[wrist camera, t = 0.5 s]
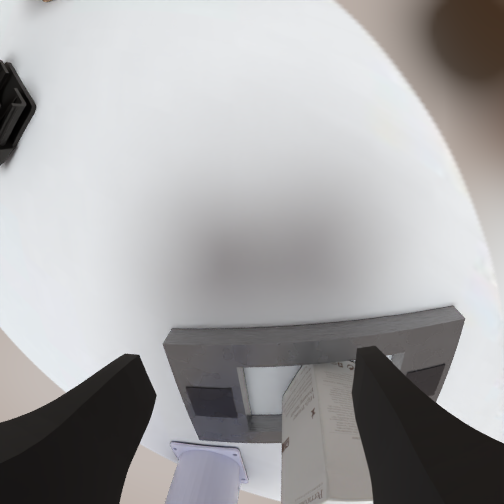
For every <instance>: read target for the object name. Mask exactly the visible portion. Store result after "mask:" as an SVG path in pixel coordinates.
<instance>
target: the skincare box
mask: <svg viewBox="0 0 504 504" xmlns="http://www.w3.org/2000/svg"><path fill="white" fill-rule="evenodd" d="M354 370H355V363H353V362H350V361H342V362H332V363H322V364H310V365H303V366H302V367H301V369H300V370H299V372H298V373H297V375H296V376H295V378H294V379H293V381H292V382H291V384H290V386H289V387H288V389H287V391H286V392H285V394H284V396H283V399H282V470H281V504H373V494H372V484H371V479H370V473H369V469H368V465H367V461H366V457H365V453H364V449H363V446H362V442H361V438H360V434H359V431H358V427H357V423H356V419H355V413H354V407H353V400H352V393H351V392H352V385H353V378H354Z"/></svg>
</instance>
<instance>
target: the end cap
mask: <svg viewBox="0 0 504 504" xmlns="http://www.w3.org/2000/svg"><path fill="white" fill-rule="evenodd" d="M35 110H36V105H35V103H34V101H33V100H32V98H31V96H30V95H29V93H28V92H27V90H26V88H25V87H24V85H23V83H22V82H21V80H20V78H19V76H18V75H17V73H16V71H15V69H14V68H13V66H12V64H11V63H8V62H6V63H5V64H4V63H3V61H1V60H0V165H1V164H2V163H3V162H4V161H5V160H6V159H7V157H8V156H9V155H10V153H11V151H12V150H13V149H14V148H15V146H16V145H17V143H18V142H19V140H20V138H21V136H22V134H23V132H24V130H25V129H26V127H27V125H28V123H29V121H30V120H31V118H32V116H33V115H34V113H35Z"/></svg>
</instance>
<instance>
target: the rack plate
mask: <svg viewBox="0 0 504 504" xmlns="http://www.w3.org/2000/svg"><path fill="white" fill-rule="evenodd" d="M464 321H465V318H464V317H463V316H462V314H461V313H460V312H459V311H458V310H457V309H456V308H455V307H454V306H450V307H444V308H439V309H433V310H427V311H421V312H415V313H408V314H401V315H394V316H387V317H380V318H372V319H363V320H354V321H345V322H335V323H324V324H311V325H298V326H282V327H262V328H233V329H171V331H170V333H169V334H168V336H167V338H166V339H165V341H164V343H163V346H164V349H165V352H166V355H167V358H168V361H169V364H170V367H171V370H172V372H173V375H174V378H175V381H176V383H177V386H178V389H179V391H180V394H181V397H182V399H183V402H184V404H185V407H186V409H187V412H188V414H189V417H190V419H191V421H192V424H193V426H194V428H195V431H196V433H197V435H198V438H199V440H206V441H218V442H235V443H282V415H251V409H250V404H249V398H248V393H247V387H246V382H245V376H244V370H243V367H276V366H295V365H310V364H322V363H332V362H342V361H350V360H356V352H357V348H363V347H369V346H376V347H377V348H378V349H379V350H380V351H381V352H382V353H383V354H384V355H385V356H386V355H392V354H393V356H392V361H391V362H392V363H393V364H394V365H395V366H396V367H397V368H398V369H399V370H400V371H401V372H402V373H403V374H404V375H405V376H406V377H407V378H409V379H410V380H411V381H412V382H413V383H414V384H415V385H416V386H417V387H418V388H419V389H420V390H422V391H423V392H424V393H425V394H426V395H427V396H428V397H430V398H431V399H432V400H433V401H435V402H436V400H437V398H438V396H439V394H440V391H441V389H442V386H443V384H444V381H445V379H446V376H447V374H448V371H449V368H450V366H451V363H452V360H453V357H454V354H455V351H456V348H457V345H458V342H459V338H460V335H461V332H462V328H463V325H464Z"/></svg>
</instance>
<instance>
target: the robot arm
mask: <svg viewBox="0 0 504 504" xmlns="http://www.w3.org/2000/svg"><path fill="white" fill-rule="evenodd" d="M351 393H352V400H353V407H354V413H355V419H356V423H357V427H358V431H359V434H360V438H361V442H362V446H363V449H364V453H365V457H366V461H367V465H368V469H369V473H370V479H371V484H372V494H373V504H504V443H502V442H499V441H497V440H495V439H493V438H491V437H489V436H487V435H485V434H483V433H481V432H479V431H477V430H475V429H474V428H472V427H470V426H469V425H467V424H465V423H464V422H462V421H461V420H459V419H458V418H456V417H455V416H453V415H452V414H450V413H449V412H447V411H446V410H445V409H443V408H442V407H441V406H439V405H438V404H437V403H436V402H435V401H433V400H432V399H431V398H430V397H428V396H427V395H426V394H425V393H424V392H423V391H422V390H420V389H419V388H418V387H417V386H416V385H415V384H414V383H413V382H412V381H411V380H410V379H409V378H407V377H406V376H405V375H404V374H403V373H402V372H401V371H400V370H399V369H398V368H397V367H396V366H395V365H394V364H393V363H392V362H391V361H390V360H389V359H388V358H387V357H386V356H385V355H384V354H383V353H382V352H381V351H380V350H379V349H378V348H377V347H376V346H369V347H363V348H357V352H356V361H355V370H354V378H353V385H352V392H351ZM156 396H157V395H156V393H155V391H154V388H153V386H152V384H151V382H150V380H149V377H148V375H147V373H146V370H145V368H144V366H143V363H142V361H141V358H140V356H139V355H134V354H124V355H122V356H120V357H119V358H117V359H116V360H114V361H113V362H111V363H110V364H108V365H107V366H105V367H104V368H102V369H101V370H100V371H98V372H97V373H95V374H94V375H92V376H91V377H89V378H88V379H87V380H85V381H84V382H82V383H81V384H79V385H78V386H76V387H75V388H73V389H72V390H70V391H68V392H67V393H65V394H64V395H62V396H61V397H59V398H57V399H56V400H54V401H52V402H50V403H48V404H47V405H45V406H43V407H41V408H39V409H37V410H34V411H32V412H30V413H27V414H25V415H22V416H20V417H17V418H14V419H11V420H8V421H5V422H1V423H0V504H119V502H120V497H121V493H122V489H123V485H124V482H125V478H126V475H127V472H128V469H129V466H130V464H131V461H132V459H133V457H134V455H135V452H136V450H137V448H138V446H139V443H140V441H141V439H142V437H143V434H144V432H145V430H146V428H147V425H148V423H149V421H150V418H151V415H152V411H153V408H154V404H155V400H156ZM170 447H171V449H172V450H173V452H174V453H175V455H176V457H177V458H178V460H179V461H178V464H177V468H176V470H175V473H174V477H173V480H172V483H171V486H170V489H169V492H168V495H167V498H166V501H165V504H237V502H238V495H239V490H240V483H248V477H247V474H246V471H245V468H244V464H243V461H242V458H241V454H240V451H239V450H238V449H236V448H223V447H210V446H200V445H191V444H184V443H176V442H171V443H170Z"/></svg>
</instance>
